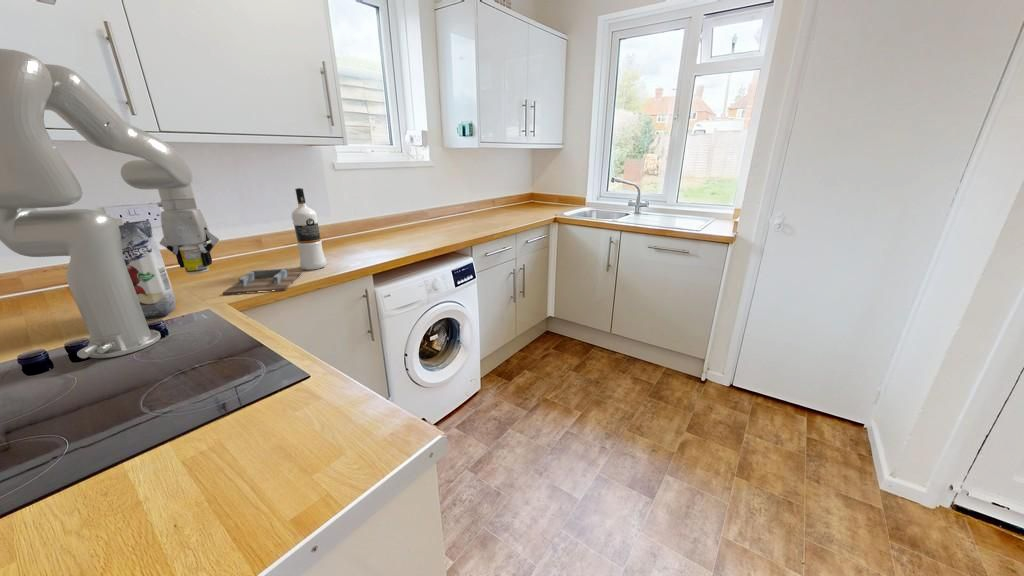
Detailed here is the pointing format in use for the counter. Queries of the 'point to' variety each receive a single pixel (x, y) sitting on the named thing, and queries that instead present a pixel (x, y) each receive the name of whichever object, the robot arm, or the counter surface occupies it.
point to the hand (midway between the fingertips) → (196, 265)
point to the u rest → (263, 281)
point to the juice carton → (146, 269)
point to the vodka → (307, 235)
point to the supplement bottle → (192, 259)
